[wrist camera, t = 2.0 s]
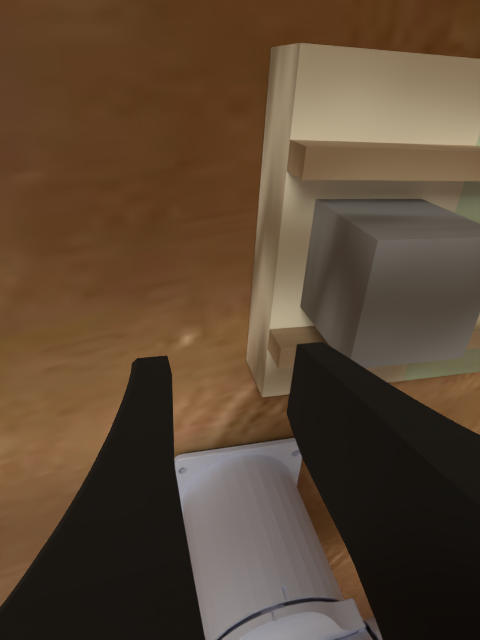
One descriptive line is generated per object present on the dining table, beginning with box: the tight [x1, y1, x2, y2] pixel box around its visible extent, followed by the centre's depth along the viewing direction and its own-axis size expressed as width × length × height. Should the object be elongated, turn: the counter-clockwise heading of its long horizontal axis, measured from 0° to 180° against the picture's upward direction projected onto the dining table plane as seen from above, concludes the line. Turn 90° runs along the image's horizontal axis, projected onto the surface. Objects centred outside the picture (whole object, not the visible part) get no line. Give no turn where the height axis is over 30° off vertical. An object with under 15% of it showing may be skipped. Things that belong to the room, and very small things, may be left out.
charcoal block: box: [300, 199, 480, 368], centre depth 15 cm, size 4×4×4 cm
